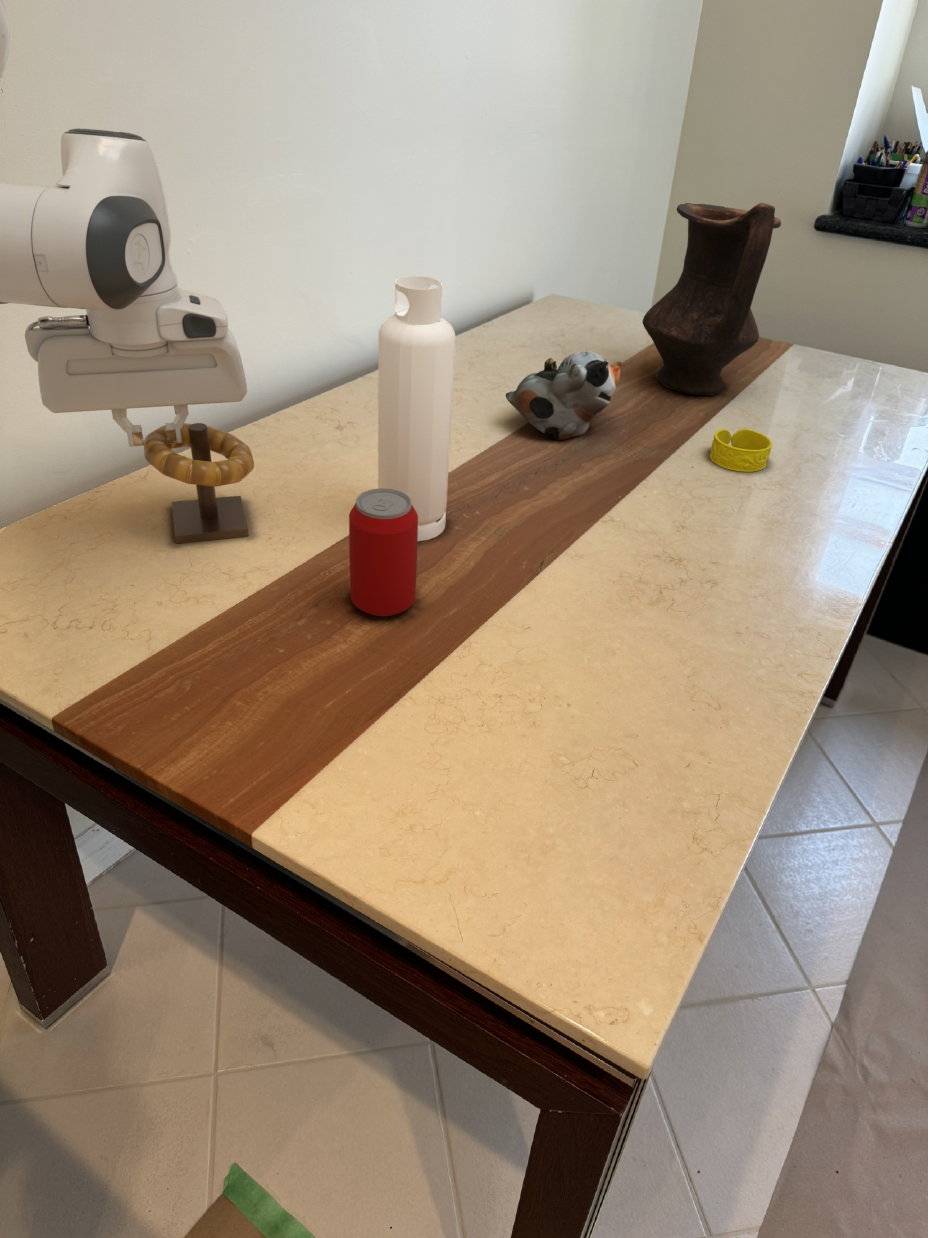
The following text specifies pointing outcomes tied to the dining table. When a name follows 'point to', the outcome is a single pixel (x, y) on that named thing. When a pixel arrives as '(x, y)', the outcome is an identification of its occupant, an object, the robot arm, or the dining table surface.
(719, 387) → the jug
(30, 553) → the dining table surface
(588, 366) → the lucky cat figurine
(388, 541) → the beverage can
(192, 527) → the post
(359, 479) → the dining table surface
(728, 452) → the bracelet
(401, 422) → the bottle
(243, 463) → the ring
